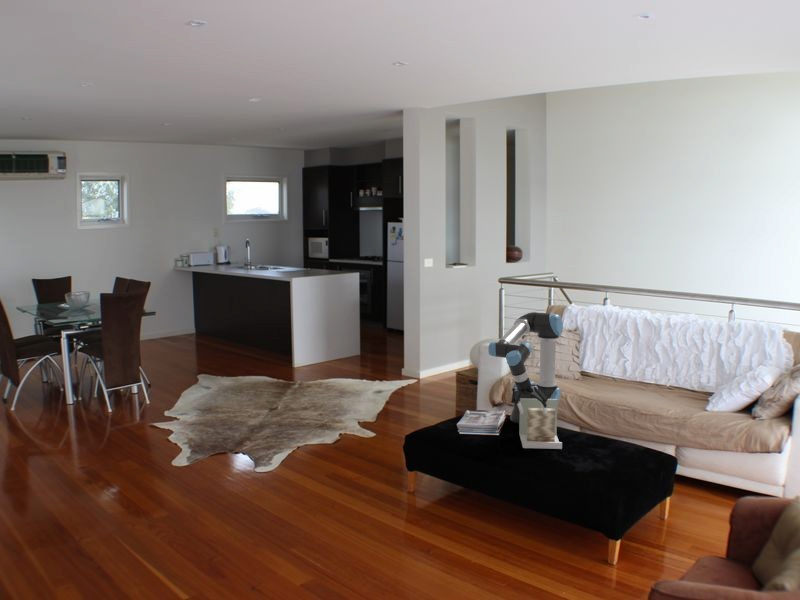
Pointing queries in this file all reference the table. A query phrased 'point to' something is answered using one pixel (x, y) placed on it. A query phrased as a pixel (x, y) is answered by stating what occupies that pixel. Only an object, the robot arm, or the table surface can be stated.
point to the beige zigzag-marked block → (540, 423)
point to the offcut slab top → (545, 439)
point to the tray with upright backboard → (526, 404)
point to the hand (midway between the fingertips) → (534, 412)
